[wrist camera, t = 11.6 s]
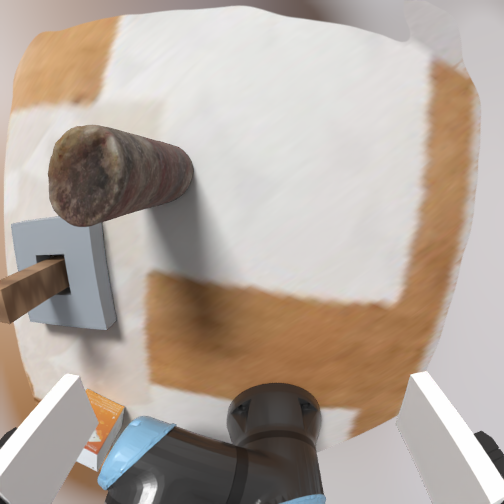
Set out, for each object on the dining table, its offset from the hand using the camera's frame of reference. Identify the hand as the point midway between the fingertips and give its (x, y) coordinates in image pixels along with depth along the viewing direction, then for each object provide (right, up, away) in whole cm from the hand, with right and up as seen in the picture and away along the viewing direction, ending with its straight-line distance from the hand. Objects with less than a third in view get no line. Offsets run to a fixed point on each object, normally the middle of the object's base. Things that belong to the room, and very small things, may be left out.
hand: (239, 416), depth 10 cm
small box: (-27, -23, +36) cm, 50 cm away
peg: (-28, +4, +29) cm, 41 cm away
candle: (-10, +16, +26) cm, 32 cm away
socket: (-28, +4, +29) cm, 41 cm away
